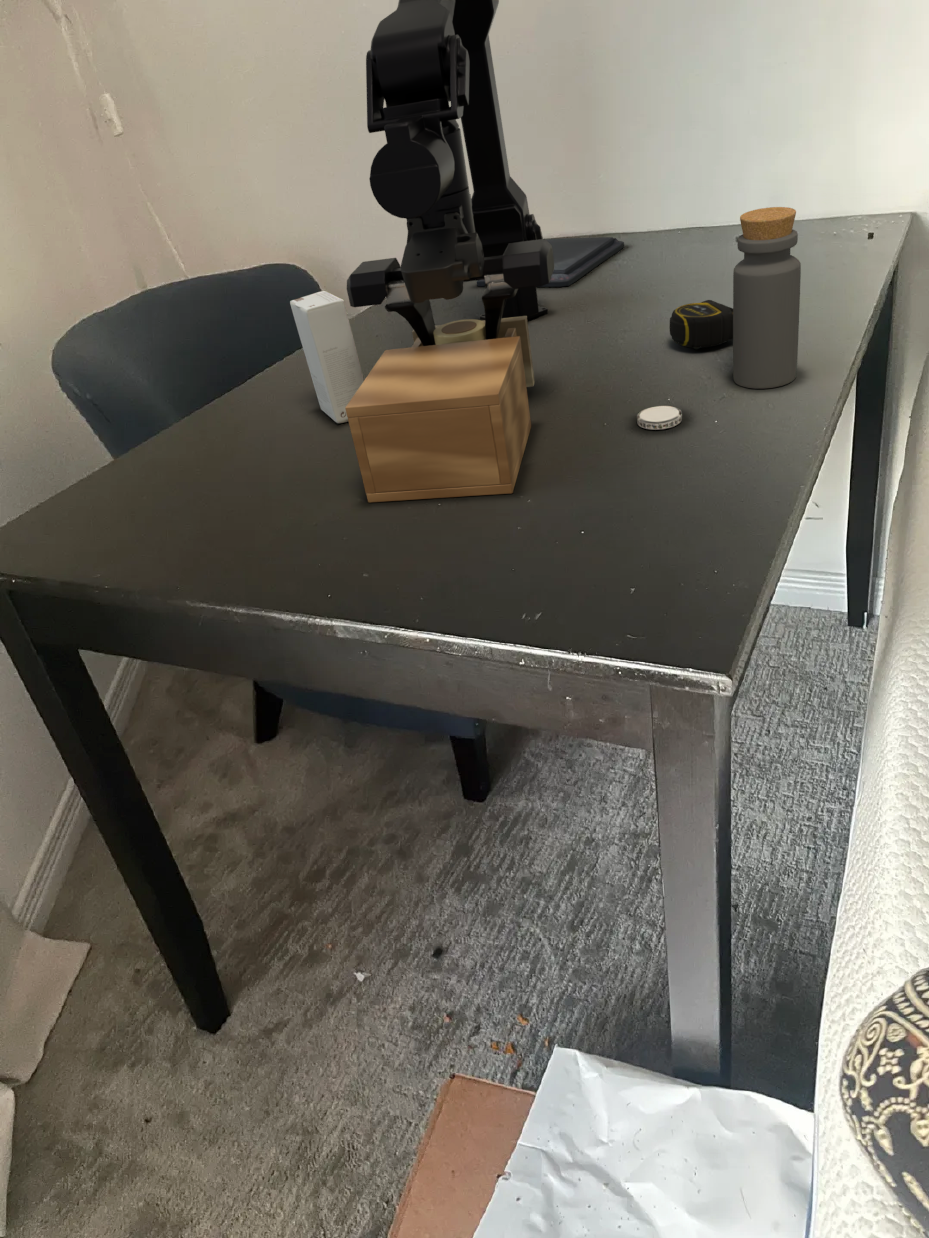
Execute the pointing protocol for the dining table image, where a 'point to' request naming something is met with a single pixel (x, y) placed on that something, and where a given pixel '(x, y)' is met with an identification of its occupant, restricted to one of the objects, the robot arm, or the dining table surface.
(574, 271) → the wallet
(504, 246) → the robot arm
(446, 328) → the tape roll
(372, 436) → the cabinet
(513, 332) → the drawer
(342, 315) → the cosmetic box
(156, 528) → the dining table surface
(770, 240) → the bottle
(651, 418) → the cream flat disc
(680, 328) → the tape measure
